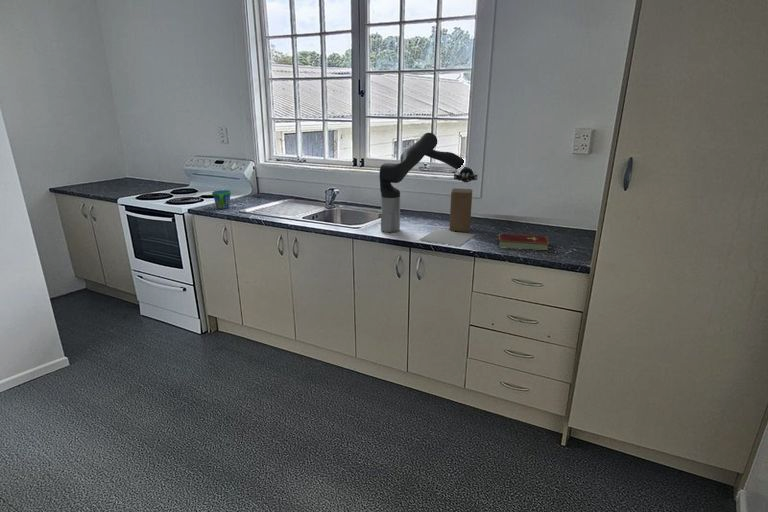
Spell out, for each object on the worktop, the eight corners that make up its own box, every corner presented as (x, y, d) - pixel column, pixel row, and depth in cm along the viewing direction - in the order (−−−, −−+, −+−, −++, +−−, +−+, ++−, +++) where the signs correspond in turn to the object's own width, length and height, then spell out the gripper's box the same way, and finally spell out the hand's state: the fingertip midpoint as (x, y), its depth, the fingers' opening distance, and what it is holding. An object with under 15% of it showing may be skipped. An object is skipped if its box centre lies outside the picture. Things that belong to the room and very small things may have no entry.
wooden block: (469, 232, 224) (472, 192, 217) (449, 231, 225) (451, 191, 219) (470, 227, 233) (472, 188, 226) (450, 226, 235) (452, 188, 228)
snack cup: (230, 210, 270) (228, 193, 267) (212, 211, 268) (209, 194, 265) (234, 205, 284) (232, 189, 281) (216, 205, 283) (214, 189, 279)
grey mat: (459, 246, 202) (459, 246, 202) (418, 240, 211) (418, 239, 211) (474, 235, 219) (474, 234, 219) (436, 230, 228) (436, 229, 228)
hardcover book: (498, 241, 211) (499, 232, 210) (546, 244, 206) (547, 235, 205) (498, 249, 200) (498, 239, 199) (548, 252, 195) (549, 243, 194)
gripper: (454, 167, 248) (451, 171, 232) (479, 167, 245) (477, 172, 229) (454, 180, 250) (450, 186, 235) (478, 181, 247) (476, 187, 231)
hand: (464, 179), depth 232 cm, fingers closed
